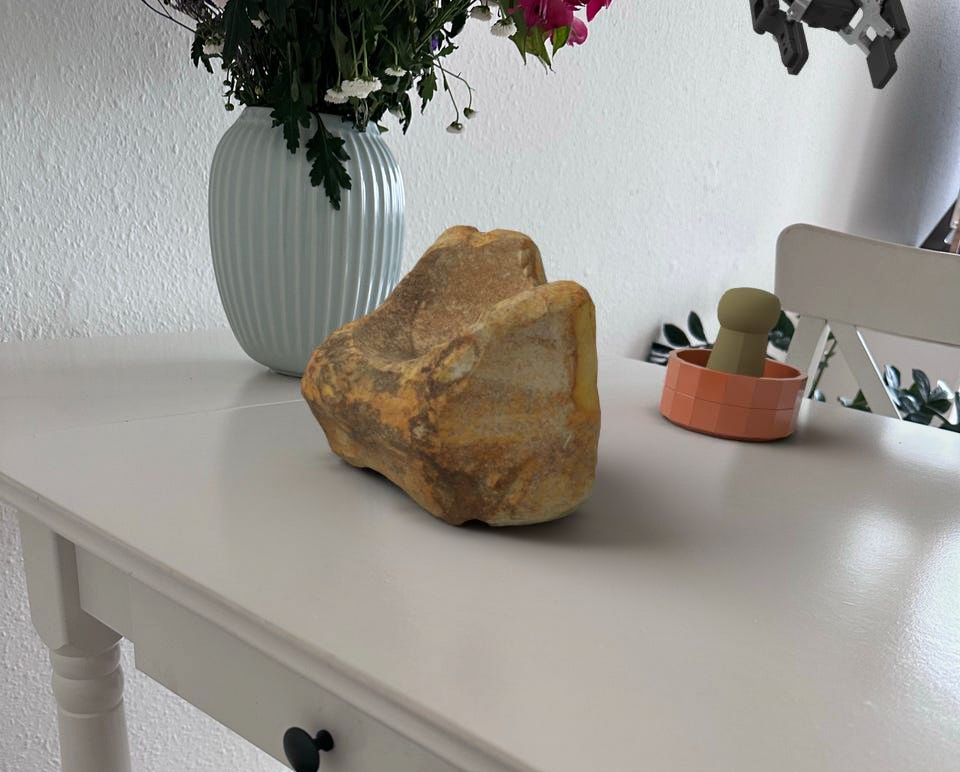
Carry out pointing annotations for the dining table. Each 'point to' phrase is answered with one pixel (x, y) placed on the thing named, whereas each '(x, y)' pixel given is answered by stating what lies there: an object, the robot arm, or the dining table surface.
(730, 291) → the cork
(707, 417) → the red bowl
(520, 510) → the rough brown rock
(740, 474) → the dining table surface
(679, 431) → the dining table surface
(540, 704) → the dining table surface
